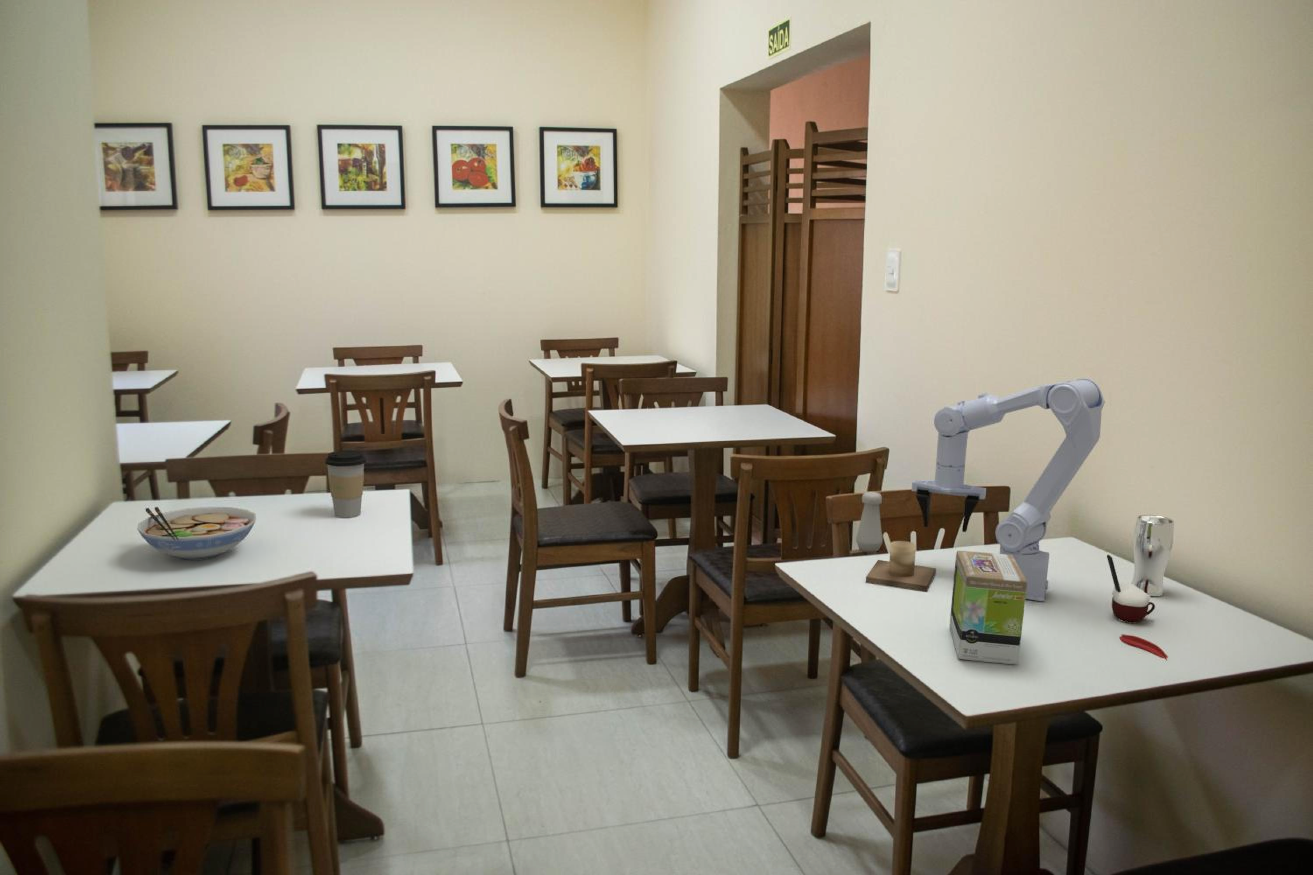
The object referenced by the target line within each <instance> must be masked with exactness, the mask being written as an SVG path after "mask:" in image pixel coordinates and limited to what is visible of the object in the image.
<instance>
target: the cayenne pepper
mask: <svg viewBox="0 0 1313 875" xmlns="http://www.w3.org/2000/svg"><path fill="white" fill-rule="evenodd" d="M1119 639H1120V641H1121V642H1122V643H1124V644H1125V645H1128V646H1130V647H1134V648H1137V649H1140V650H1143V651H1145V652H1148V653H1150V654H1152V655H1154V656H1156V657H1159V658H1161V659H1165V660H1166V661H1167V660H1168V658H1169V656H1168V654H1166V653H1165V651H1164V650H1163V649H1162V648H1161V647H1159V645H1157V644H1155V643H1153V642H1151V641H1150V640H1147V639H1145V638H1143V637H1142V638H1141V637H1139V636H1135V635H1132V634H1123V633H1122V634H1121V636H1119Z"/></svg>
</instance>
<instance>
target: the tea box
mask: <svg viewBox="0 0 1313 875" xmlns="http://www.w3.org/2000/svg"><path fill="white" fill-rule="evenodd" d="M955 554H956V555H955V562H954V564H955V565H954V576H953V585H952V594H951V605H950V615H949V616H950V617H949V628H950V632H951V636H952V640H953V644H954V647H955V651H956V656H957V659H959V660H966V661H972V662H983V663H995V664H1003V665H1018V663H1019V659H1020V658H1019V657H1020V650H1021V649H1020V648H1021V639H1022V633H1023V623H1024V616H1025V605H1026V600H1027V599H1026V589H1027V581H1026V578H1025V577H1024V574H1023V573H1022V571H1021V569H1020V567H1019V566H1018V564H1017V562H1016V560H1015V559H1014V557H1013V555H1007V554H1000V553H994V552H993V553H992V552H981V551H971V550H970V551H969V550H956V553H955Z"/></svg>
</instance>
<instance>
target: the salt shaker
mask: <svg viewBox="0 0 1313 875" xmlns="http://www.w3.org/2000/svg"><path fill="white" fill-rule="evenodd" d="M882 500H883V497H882V495H881V493H879V492H877V491H865V492H863V493H862V496H861V502H862V503H863V509H862V513H861V516H860V521H859V522H860V523H859V526H858V528H857V529H858V530H857V533H856V537H855V538H856V539H855V541H856V544H857V547H858V550H860V551H862V552H864V553H876V552H879V550H880V548H881V546H882V544H883V541H884V540H883V533H882V532H883V531H882V523H881V513H880V505H881V504H882Z"/></svg>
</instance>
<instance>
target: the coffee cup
mask: <svg viewBox="0 0 1313 875" xmlns="http://www.w3.org/2000/svg"><path fill="white" fill-rule="evenodd" d="M365 463H367V458H366V456H364V453H363V451H360V450H353V449H349V450H348V449H345V450H336V451H331V452H330V453H328V454H327V457H326V458H325V463H324V464H325V465H327V477H328V482H329V489H330V496H331V500H332V505H333V506H332V507H333V511H334V517H336V518H339V519H351V518H355V517H359V516H360V515H361V513H362V512H361V511H362V499H363V498H362V497H363V494H364V478H365V472H364V469H365Z"/></svg>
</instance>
